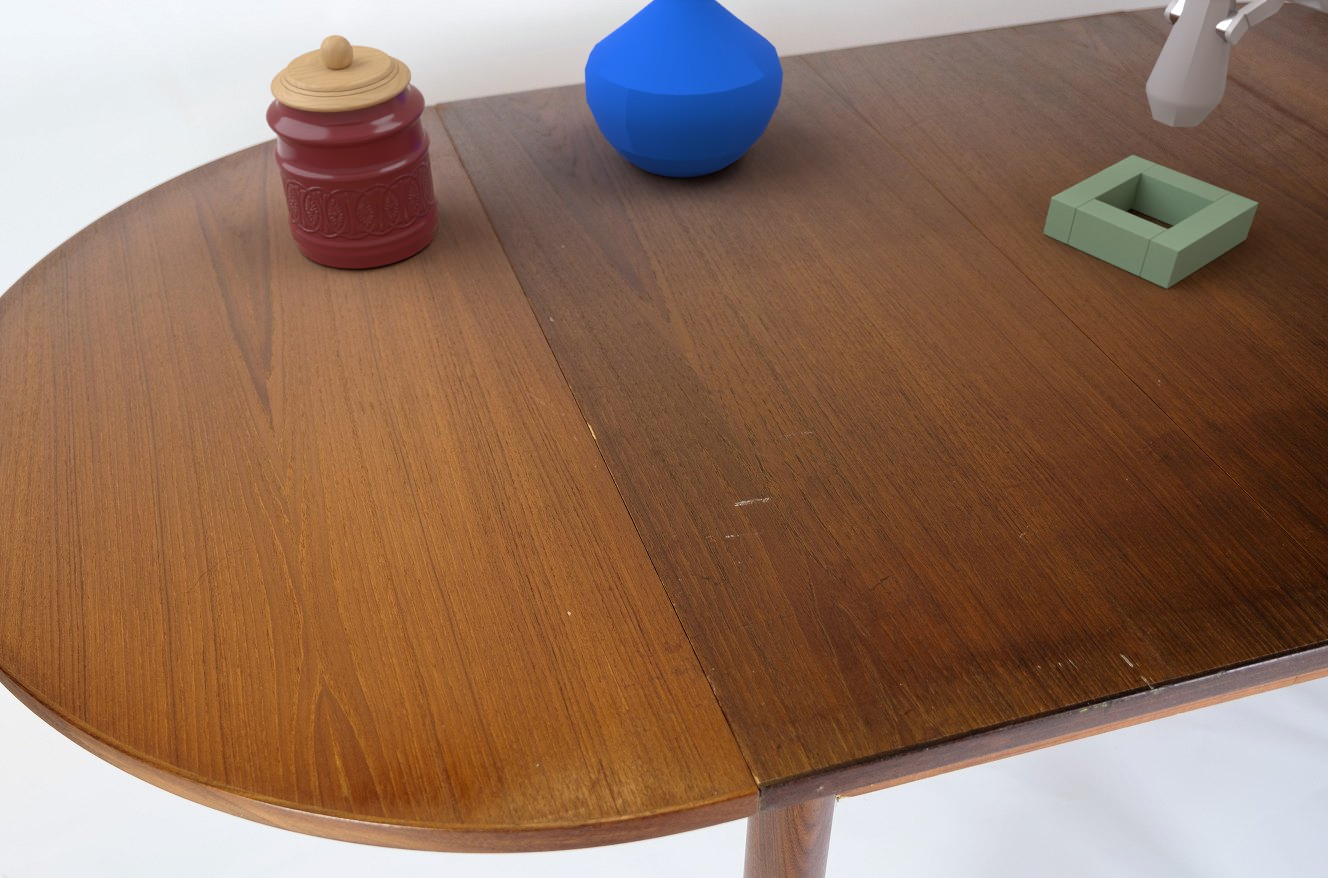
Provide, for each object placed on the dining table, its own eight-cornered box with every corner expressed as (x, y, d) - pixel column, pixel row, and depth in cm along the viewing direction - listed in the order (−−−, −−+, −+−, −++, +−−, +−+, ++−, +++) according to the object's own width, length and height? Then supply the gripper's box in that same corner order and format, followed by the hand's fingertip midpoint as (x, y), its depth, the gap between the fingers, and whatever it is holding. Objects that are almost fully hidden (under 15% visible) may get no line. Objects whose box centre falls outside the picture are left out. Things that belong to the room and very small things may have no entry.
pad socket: (1246, 239, 105) (1259, 202, 103) (1166, 289, 100) (1178, 251, 98) (1123, 190, 112) (1132, 154, 110) (1042, 233, 107) (1051, 197, 105)
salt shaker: (1186, 139, 97) (1237, -32, 88) (1123, 114, 100) (1167, -52, 92) (1230, 118, 99) (1284, -50, 91) (1167, 95, 103) (1214, -69, 94)
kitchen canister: (430, 190, 116) (405, -1, 104) (451, 259, 106) (426, 57, 95) (289, 210, 113) (248, 17, 102) (297, 282, 104) (252, 78, 92)
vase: (777, 115, 126) (790, -83, 113) (776, 203, 112) (792, -12, 100) (598, 111, 128) (592, -84, 115) (576, 197, 114) (566, -15, 101)
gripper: (1457, -73, 89) (1332, 94, 91) (1203, -133, 102) (1099, 14, 104) (1451, -129, 84) (1319, 49, 86) (1186, -185, 97) (1077, -29, 99)
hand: (1197, 30), depth 95 cm, fingers closed on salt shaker, 3 cm apart
